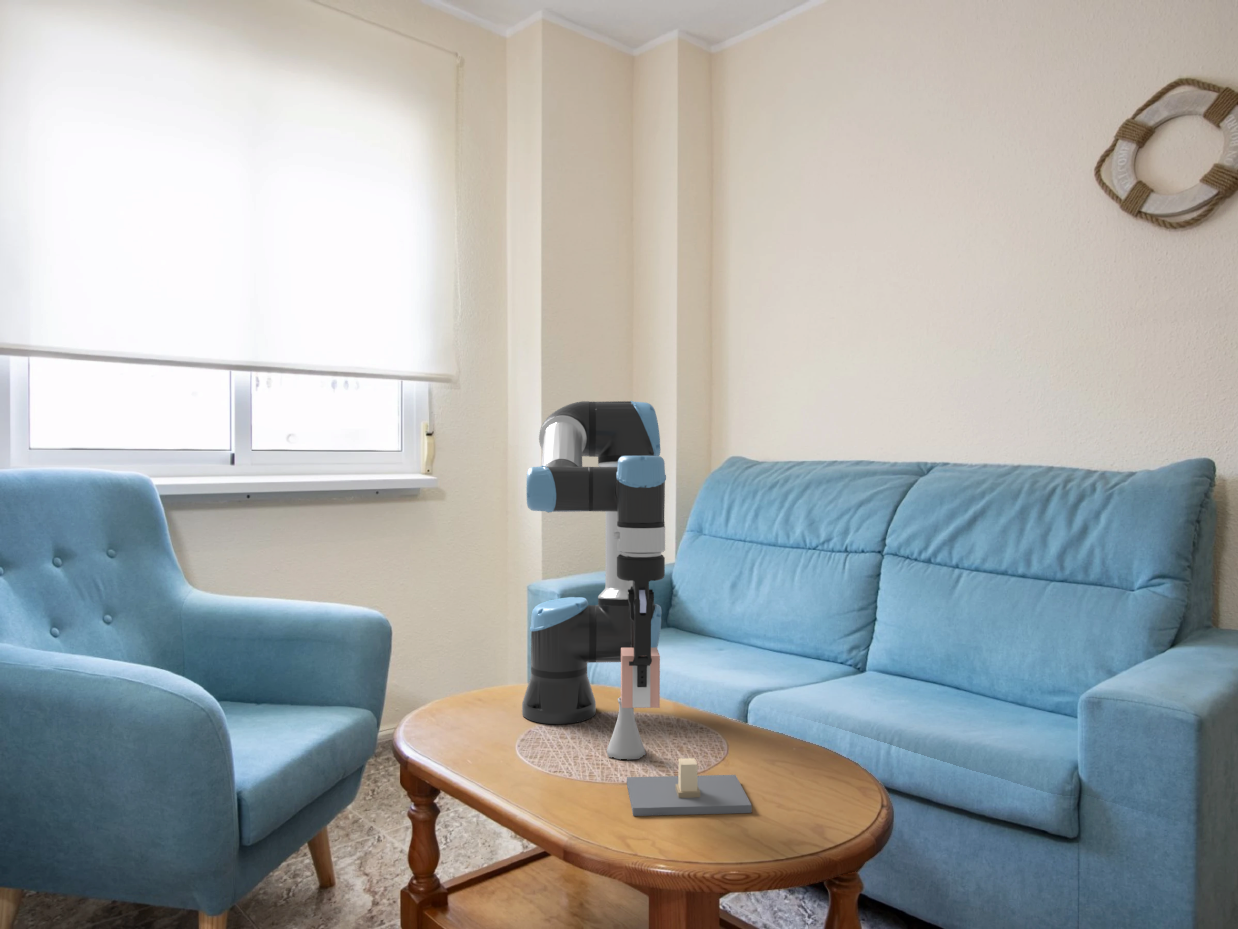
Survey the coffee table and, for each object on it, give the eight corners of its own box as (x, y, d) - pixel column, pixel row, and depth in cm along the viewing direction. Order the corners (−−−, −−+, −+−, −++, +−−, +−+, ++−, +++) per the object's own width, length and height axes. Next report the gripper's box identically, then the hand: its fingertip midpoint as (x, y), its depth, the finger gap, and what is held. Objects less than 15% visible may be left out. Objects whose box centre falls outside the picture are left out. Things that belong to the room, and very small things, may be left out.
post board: (626, 784, 143) (627, 747, 143) (735, 782, 144) (735, 744, 144) (633, 816, 131) (633, 775, 131) (751, 813, 132) (751, 772, 132)
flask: (642, 762, 153) (642, 706, 152) (602, 759, 154) (602, 703, 154) (649, 748, 160) (649, 694, 159) (610, 745, 161) (610, 692, 161)
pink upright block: (620, 697, 140) (620, 647, 140) (656, 697, 140) (657, 647, 140) (621, 708, 134) (622, 656, 134) (659, 707, 134) (659, 656, 134)
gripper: (615, 547, 146) (614, 685, 146) (618, 561, 127) (618, 719, 128) (660, 547, 146) (659, 684, 147) (669, 561, 128) (669, 719, 128)
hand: (640, 700), depth 137 cm, fingers closed on pink upright block, 6 cm apart
